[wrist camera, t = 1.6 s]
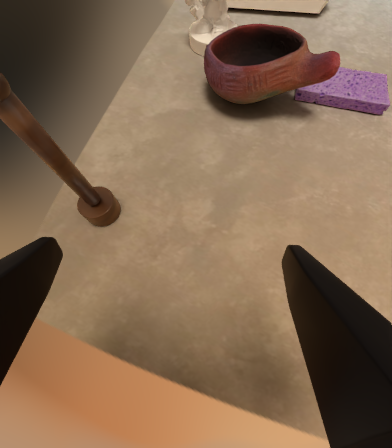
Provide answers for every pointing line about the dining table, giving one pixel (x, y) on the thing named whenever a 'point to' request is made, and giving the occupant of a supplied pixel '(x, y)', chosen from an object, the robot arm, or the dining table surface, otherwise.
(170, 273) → the dining table surface
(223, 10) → the character figurine
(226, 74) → the bowl
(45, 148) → the wooden pestle
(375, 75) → the sponge
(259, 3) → the crystal
